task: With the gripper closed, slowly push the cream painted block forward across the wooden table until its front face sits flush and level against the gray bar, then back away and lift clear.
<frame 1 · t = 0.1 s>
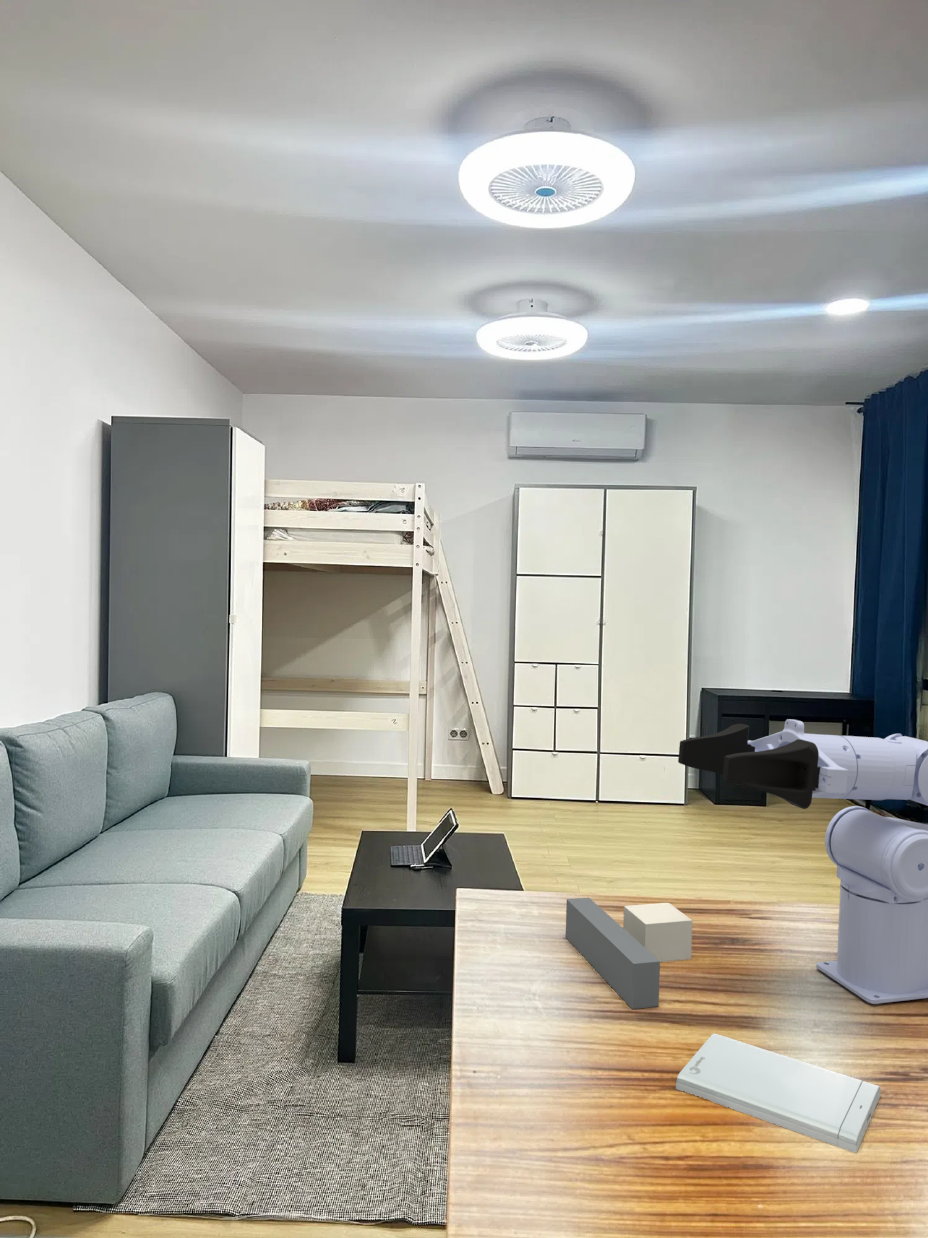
hand: (702, 760, 79), 22 cm above the table, tool horizontal, fingers open, 7 cm apart
hard drive: (777, 1102, 66), on the table
cream block: (656, 952, 91), on the table
gray bar: (608, 968, 86), on the table
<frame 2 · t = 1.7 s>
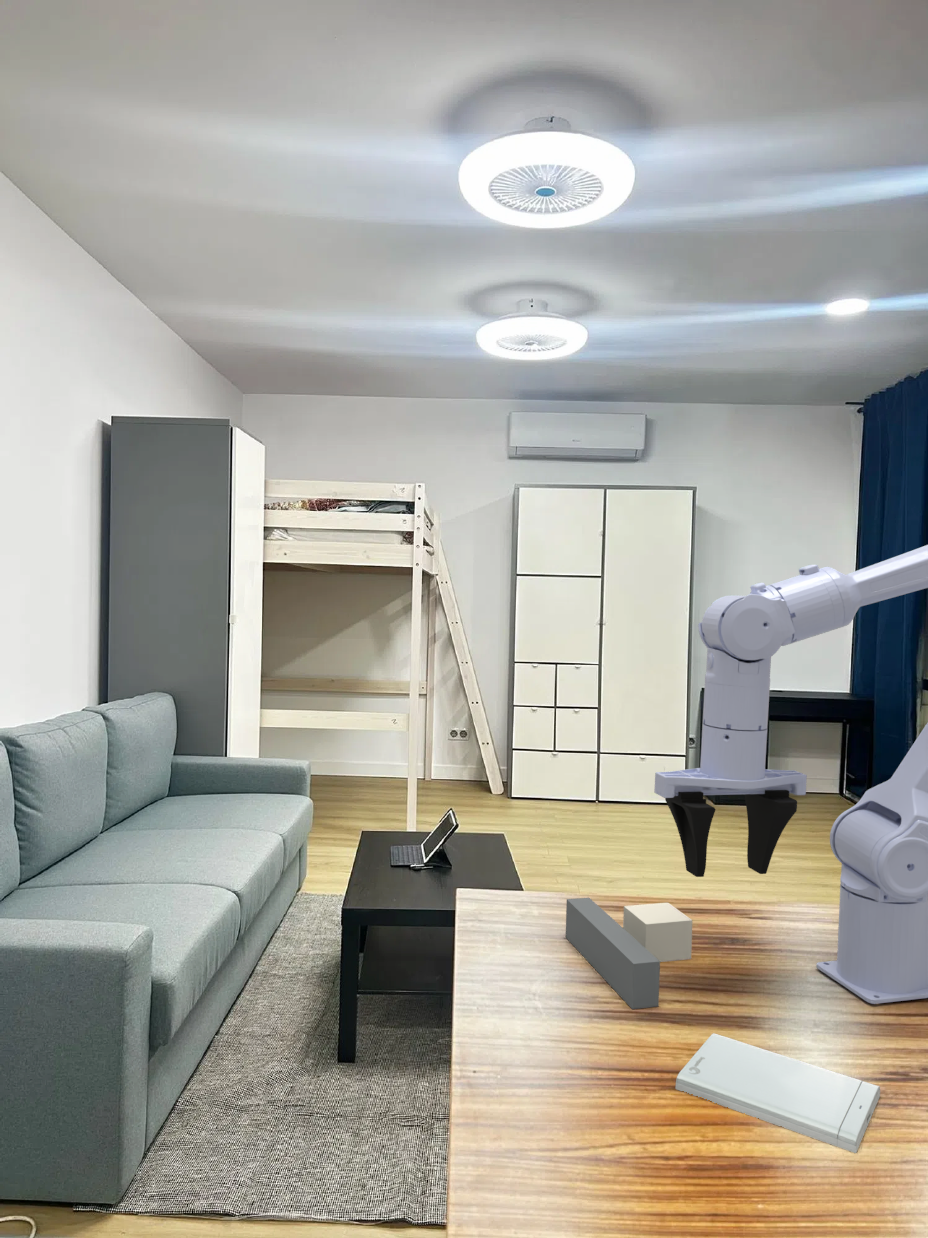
hand: (726, 872, 84), 10 cm above the table, tool pointing down, fingers open, 6 cm apart
nothing on the table moved.
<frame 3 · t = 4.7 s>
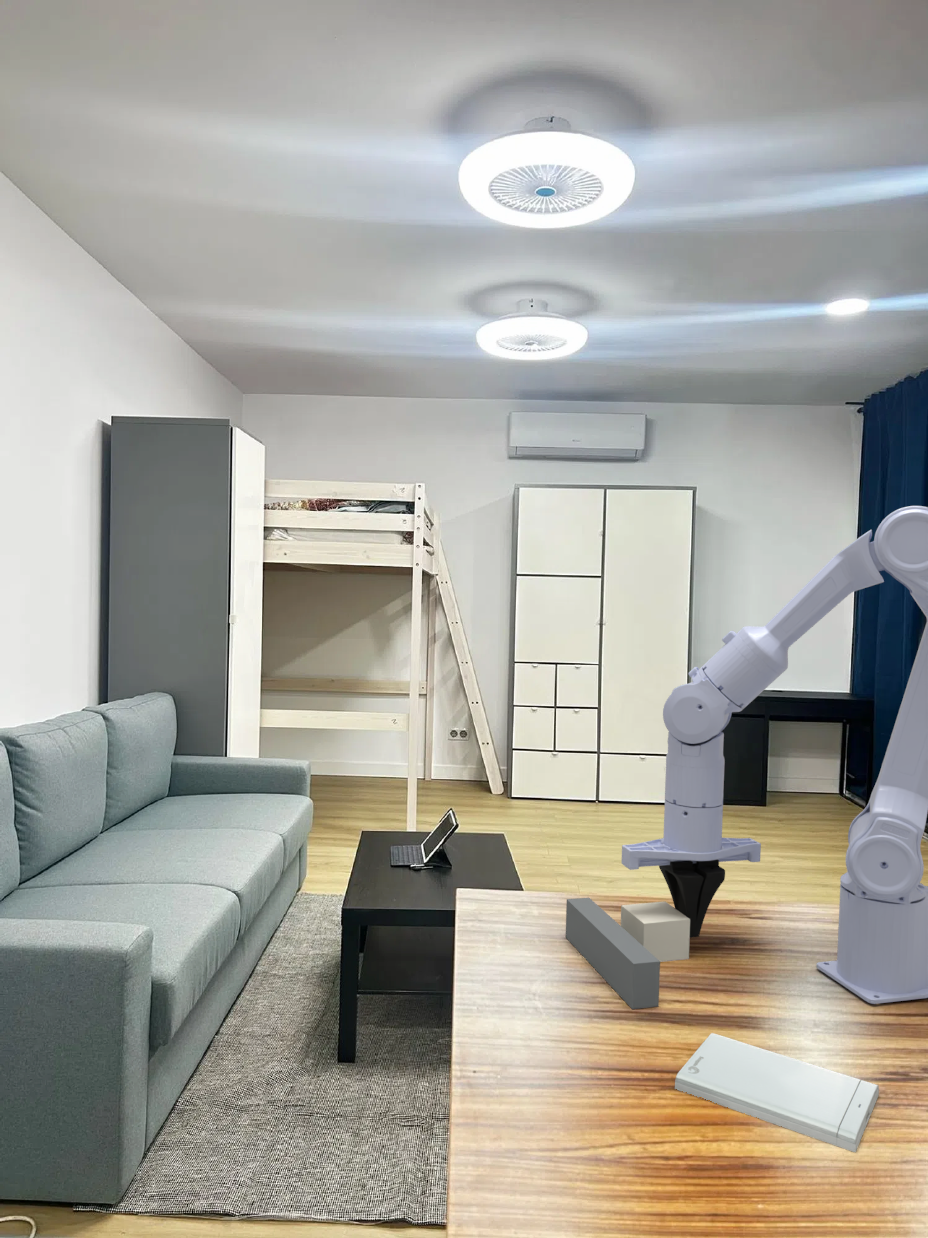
hand: (688, 933, 92), 1 cm above the table, tool pointing down, fingers closed
cream block: (653, 951, 91), on the table, touching gripper
everything else where it was.
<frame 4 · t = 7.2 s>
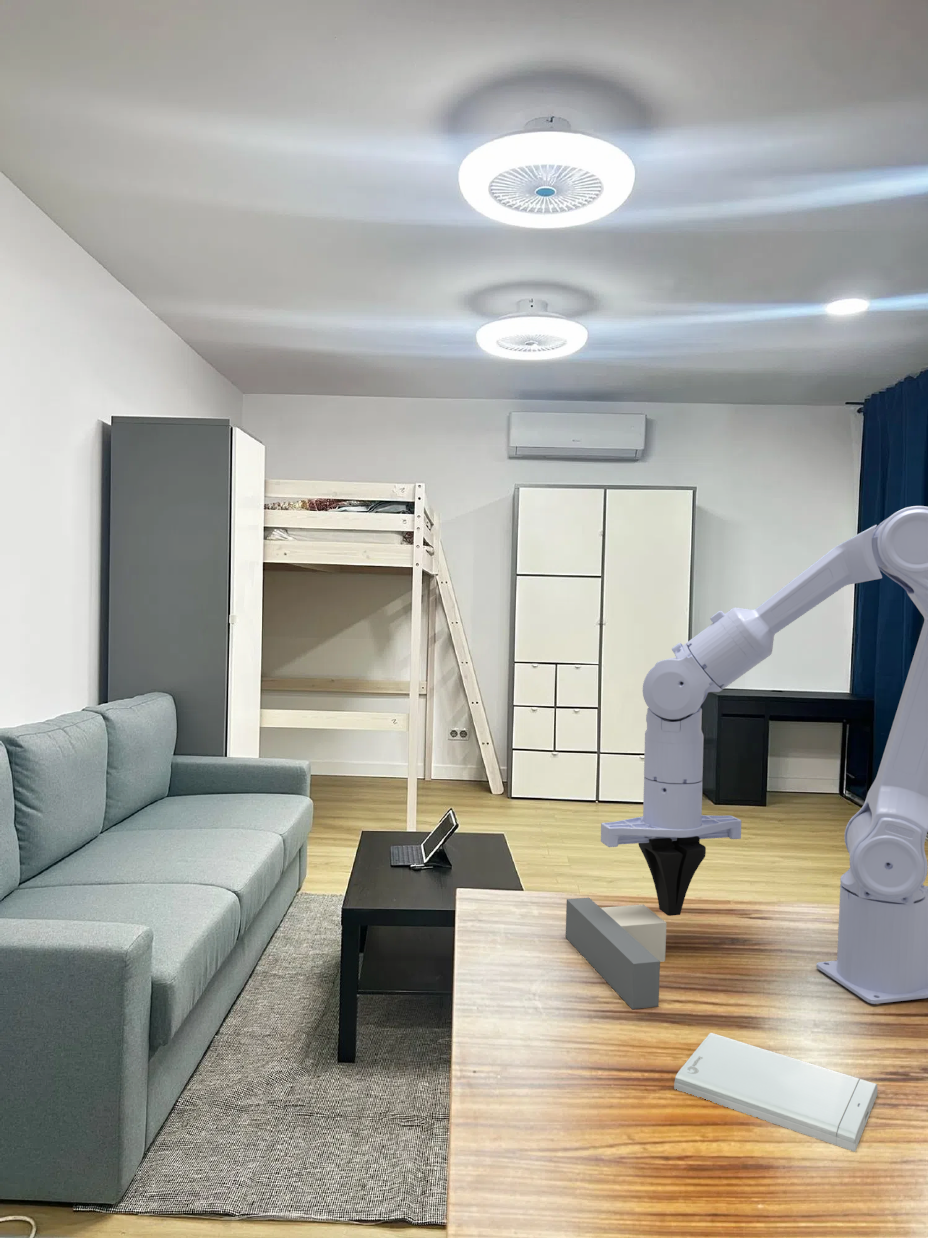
hand: (669, 912, 91), 4 cm above the table, tool pointing down, fingers closed
cream block: (630, 954, 90), on the table
everything else where it was.
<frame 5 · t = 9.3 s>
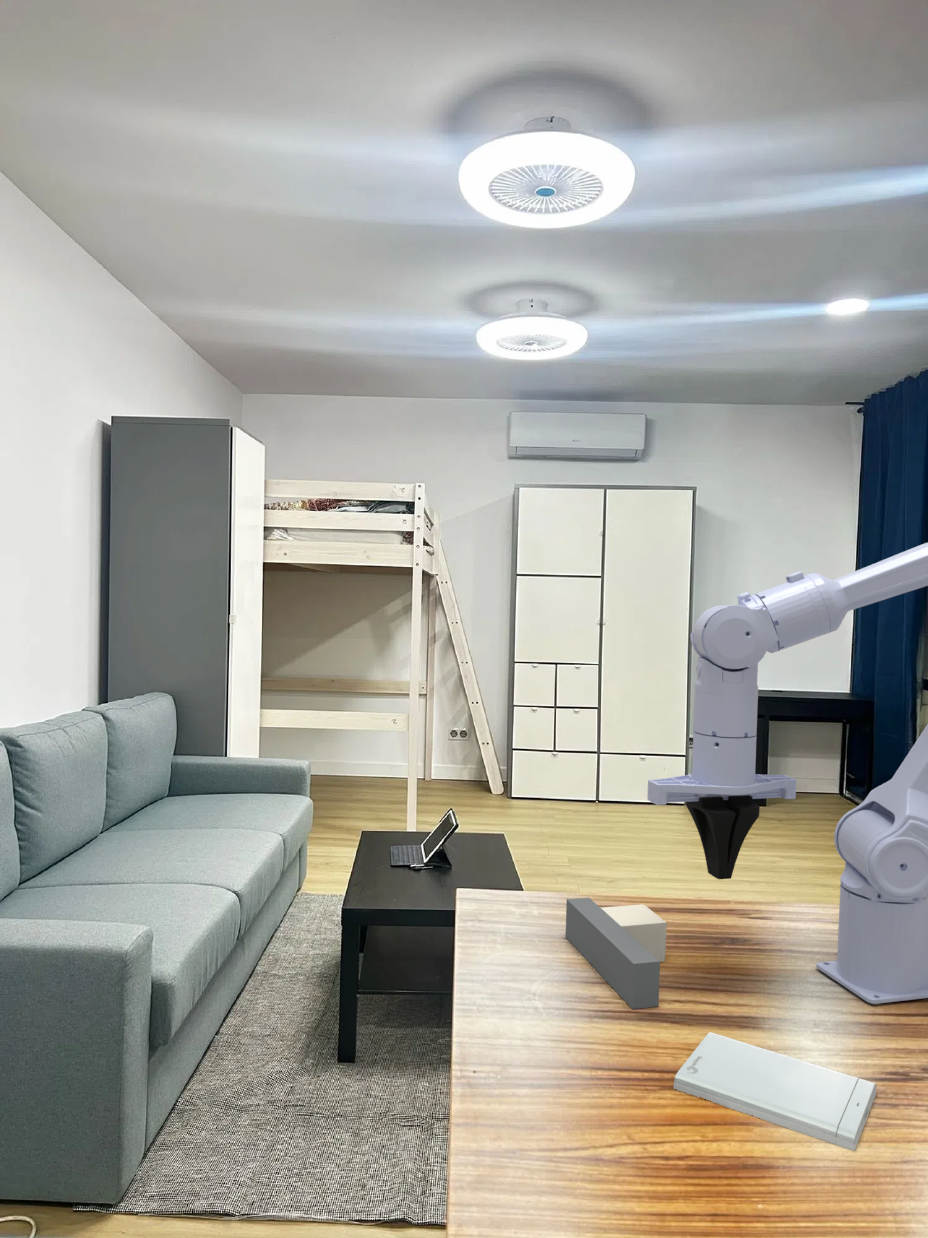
hand: (719, 875, 86), 9 cm above the table, tool pointing down, fingers closed
nothing on the table moved.
at the end: cream block 0.1 cm from the target spot on the table beside the gray bar, on the table; cream block tilted 0° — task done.
